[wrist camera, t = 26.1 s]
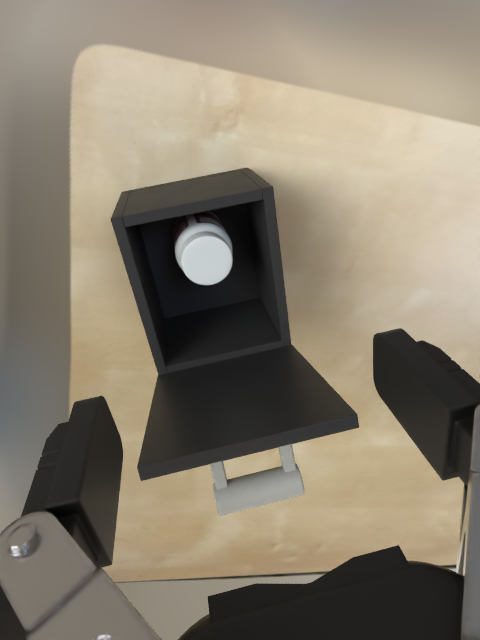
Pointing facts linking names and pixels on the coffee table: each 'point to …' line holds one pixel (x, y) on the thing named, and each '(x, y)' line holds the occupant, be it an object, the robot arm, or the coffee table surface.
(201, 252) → the pill bottle
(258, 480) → the lid
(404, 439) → the coffee table surface
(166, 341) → the dark grey hollow box
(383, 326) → the coffee table surface
